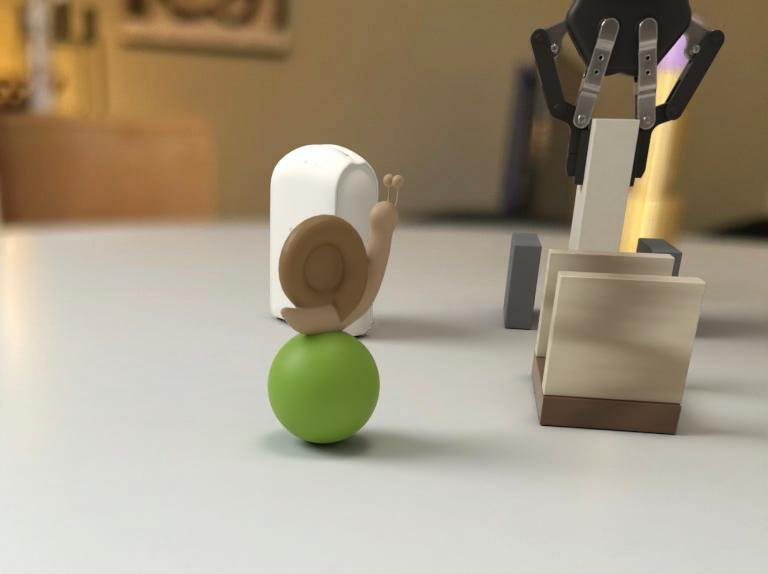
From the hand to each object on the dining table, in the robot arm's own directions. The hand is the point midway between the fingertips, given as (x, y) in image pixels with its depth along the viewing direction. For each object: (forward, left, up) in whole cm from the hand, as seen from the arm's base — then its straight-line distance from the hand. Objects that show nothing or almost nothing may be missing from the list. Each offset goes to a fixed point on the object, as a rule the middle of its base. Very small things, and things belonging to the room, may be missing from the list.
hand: (602, 184), depth 75 cm
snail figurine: (+15, +37, -10) cm, 41 cm away
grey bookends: (0, 0, -10) cm, 10 cm away
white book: (0, 0, -6) cm, 6 cm away
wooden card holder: (+1, +26, -10) cm, 28 cm away
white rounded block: (+20, +8, -10) cm, 24 cm away
